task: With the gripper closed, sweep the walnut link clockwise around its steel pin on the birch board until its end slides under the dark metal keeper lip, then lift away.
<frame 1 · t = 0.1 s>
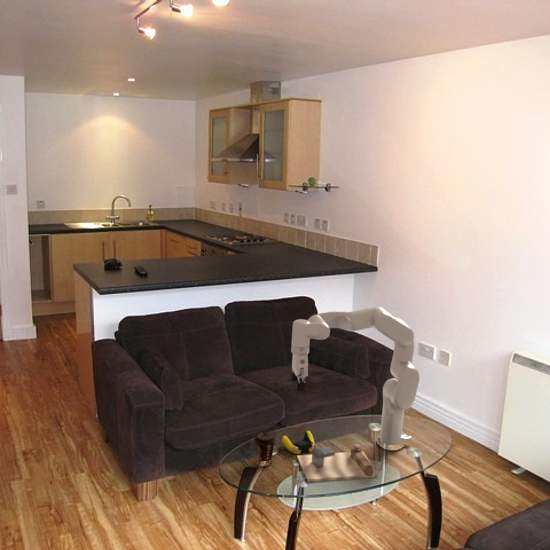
hand: (298, 385, 261), 31 cm above the table, tool pointing down, fingers open, 9 cm apart
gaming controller: (299, 448, 271), on the table
link: (361, 461, 257), point 3 cm above the table, hinge at 95.0°
keeper: (355, 459, 264), resting on pivot board
coffee cup: (263, 463, 258), on the table
pivot board: (336, 467, 258), on the table
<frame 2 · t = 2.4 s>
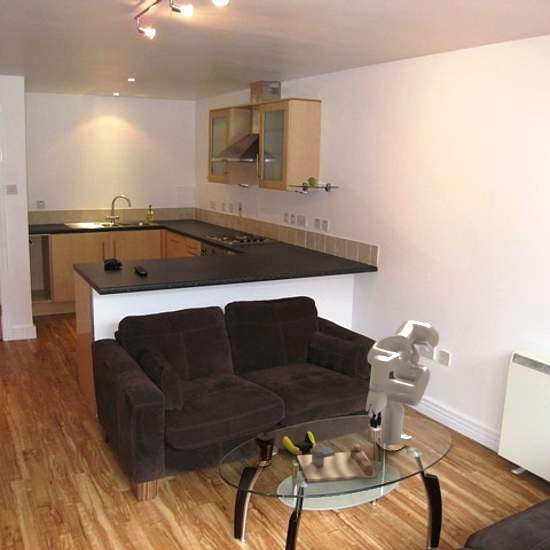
hand: (375, 425, 255), 19 cm above the table, tool pointing down, fingers closed
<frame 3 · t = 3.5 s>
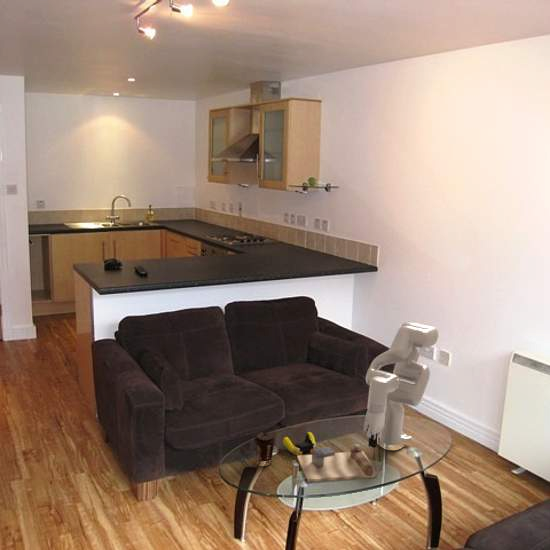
hand: (372, 446, 256), 10 cm above the table, tool pointing down, fingers closed
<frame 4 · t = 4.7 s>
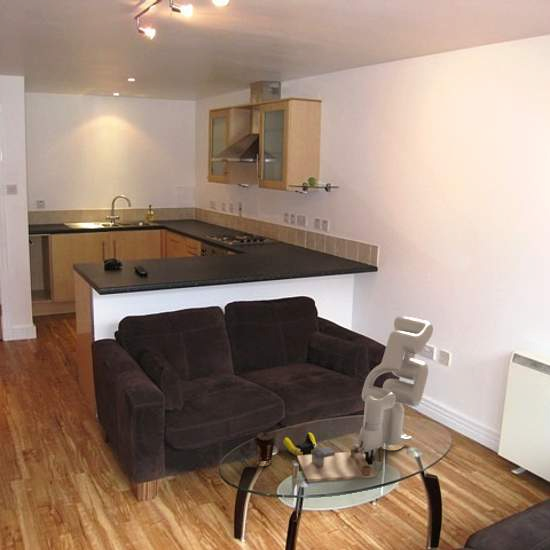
hand: (368, 463, 258), 2 cm above the table, tool pointing down, fingers closed
link: (360, 461, 257), point 3 cm above the table, hinge at 89.8°, touching gripper
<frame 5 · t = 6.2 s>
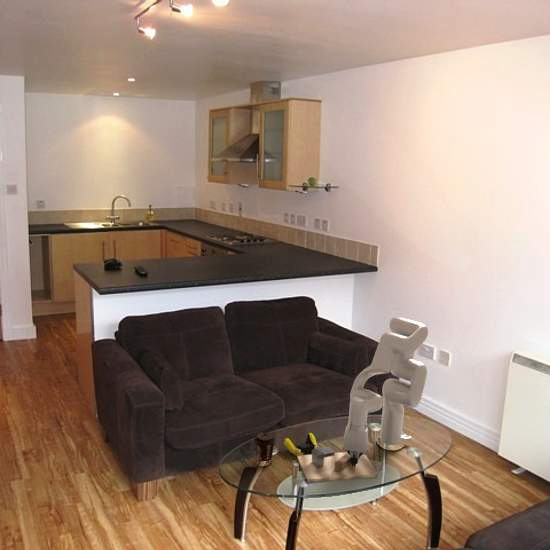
hand: (353, 464, 256), 2 cm above the table, tool pointing down, fingers closed
link: (347, 459, 258), point 3 cm above the table, hinge at 40.6°, touching gripper
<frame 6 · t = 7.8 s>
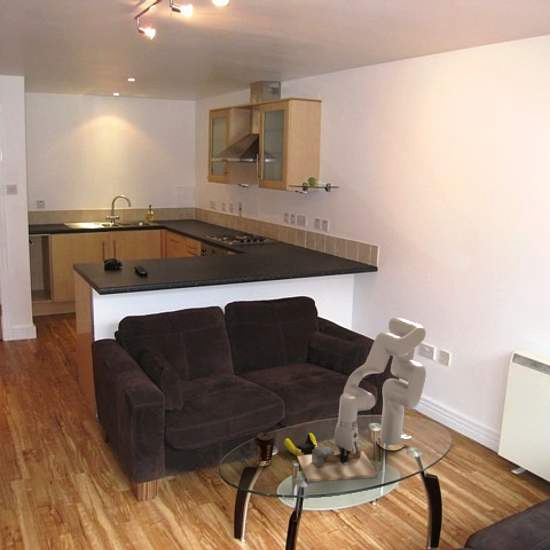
hand: (343, 461, 258), 2 cm above the table, tool pointing down, fingers closed
link: (341, 454, 261), point 3 cm above the table, hinge at 7.1°
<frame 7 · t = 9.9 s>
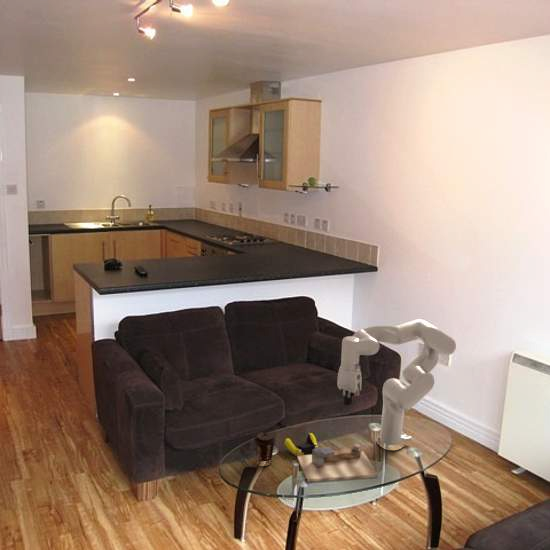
hand: (347, 404, 264), 23 cm above the table, tool pointing down, fingers closed
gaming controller: (302, 451, 269), on the table, touching pivot board
everything else where it was.
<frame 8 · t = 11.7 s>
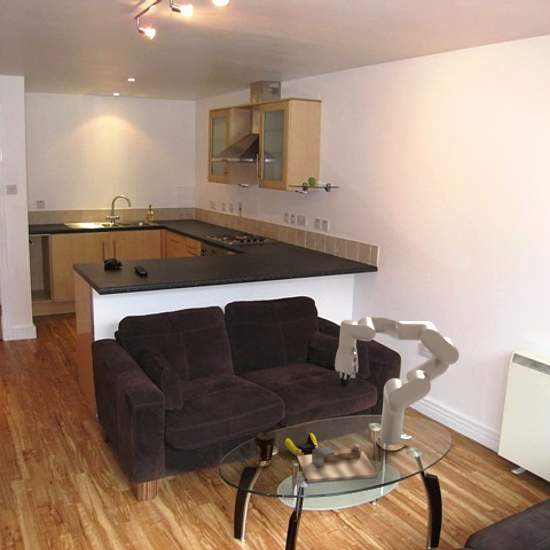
hand: (344, 386, 272), 27 cm above the table, tool pointing down, fingers closed
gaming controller: (302, 451, 269), on the table
everything else where it was.
at the end: link at +7° (first picture: +95°) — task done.
